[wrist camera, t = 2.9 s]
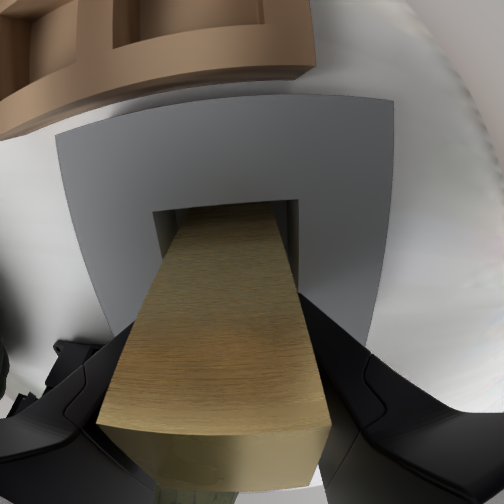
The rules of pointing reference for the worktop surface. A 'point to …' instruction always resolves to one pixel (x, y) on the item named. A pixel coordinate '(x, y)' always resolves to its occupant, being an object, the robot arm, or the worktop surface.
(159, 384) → the block
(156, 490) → the olive carved statue
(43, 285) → the worktop surface
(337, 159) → the socket block
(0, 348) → the squash
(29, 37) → the walnut rack
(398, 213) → the worktop surface
